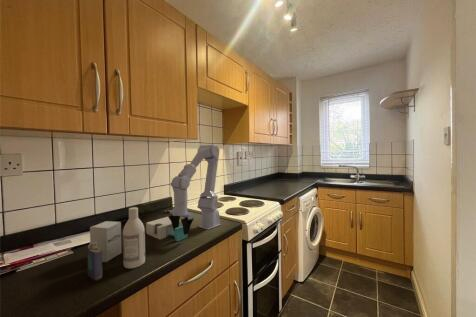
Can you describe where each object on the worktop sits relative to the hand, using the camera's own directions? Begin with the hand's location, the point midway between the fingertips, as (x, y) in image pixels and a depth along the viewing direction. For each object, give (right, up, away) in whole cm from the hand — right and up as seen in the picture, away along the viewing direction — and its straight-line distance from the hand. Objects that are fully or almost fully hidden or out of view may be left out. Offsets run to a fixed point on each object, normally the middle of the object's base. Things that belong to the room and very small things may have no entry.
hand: (181, 232), depth 93 cm
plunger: (-12, -2, +4) cm, 13 cm away
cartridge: (-7, -3, +6) cm, 9 cm away
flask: (-21, -4, -27) cm, 34 cm away
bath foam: (-11, -4, -20) cm, 24 cm away
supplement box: (-24, -4, -15) cm, 29 cm away
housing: (-11, -3, +9) cm, 14 cm away
